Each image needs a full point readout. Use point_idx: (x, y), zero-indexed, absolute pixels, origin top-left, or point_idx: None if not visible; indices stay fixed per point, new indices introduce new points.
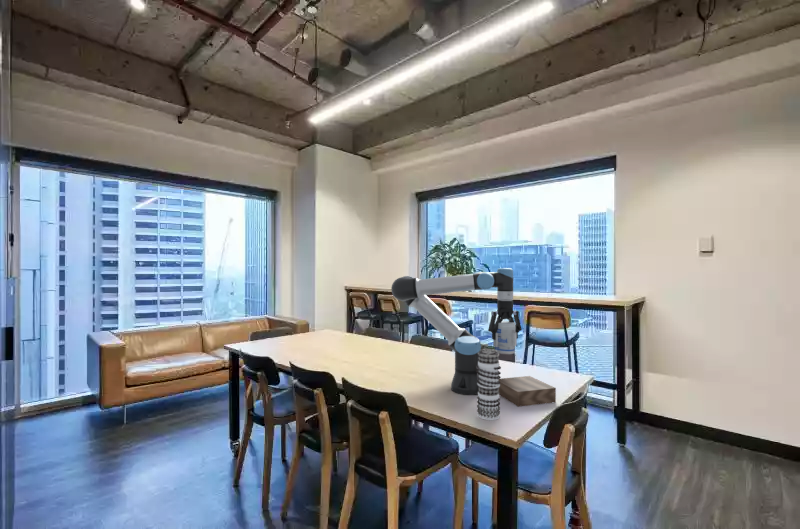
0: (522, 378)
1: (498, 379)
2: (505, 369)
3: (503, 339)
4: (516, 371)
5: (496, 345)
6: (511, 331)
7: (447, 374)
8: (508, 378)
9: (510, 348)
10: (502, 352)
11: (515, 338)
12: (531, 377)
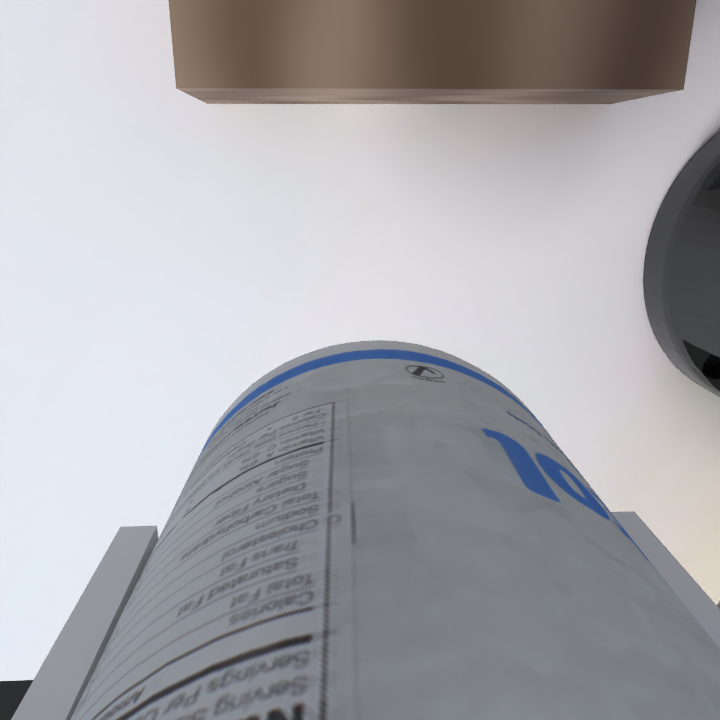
0: (335, 5)
1: (652, 61)
2: None
3: (611, 525)
4: (52, 626)
5: (645, 531)
6: (394, 684)
7: None
8: (509, 63)
9: (377, 367)
10: (511, 393)
11: (85, 653)
12: (189, 13)
